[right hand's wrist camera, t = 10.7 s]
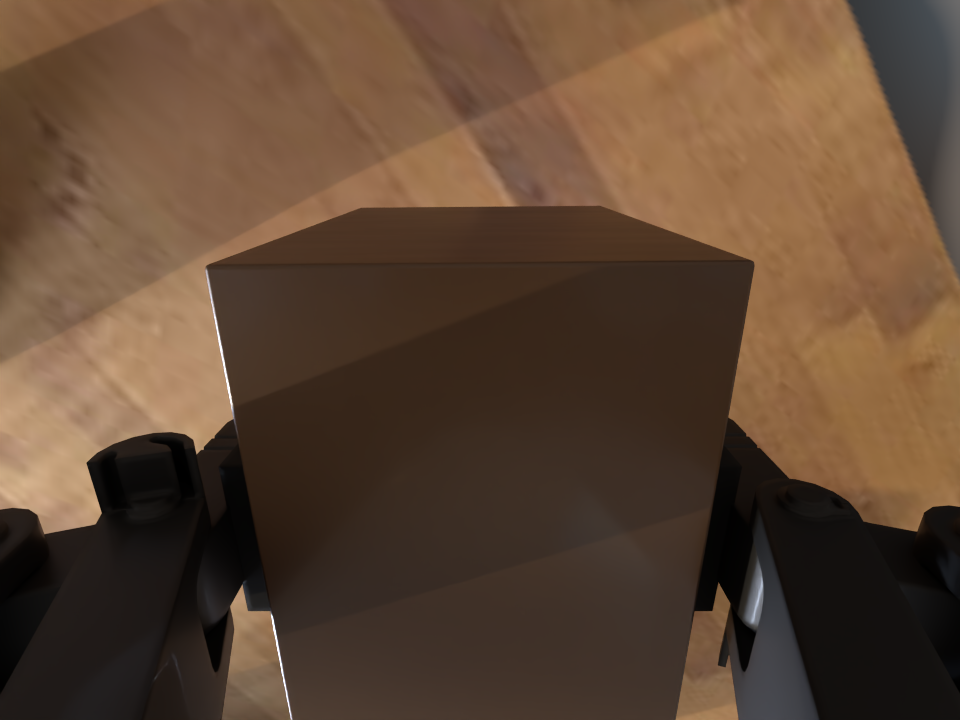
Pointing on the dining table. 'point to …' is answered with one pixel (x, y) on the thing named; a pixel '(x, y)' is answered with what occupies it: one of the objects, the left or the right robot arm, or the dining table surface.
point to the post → (481, 455)
